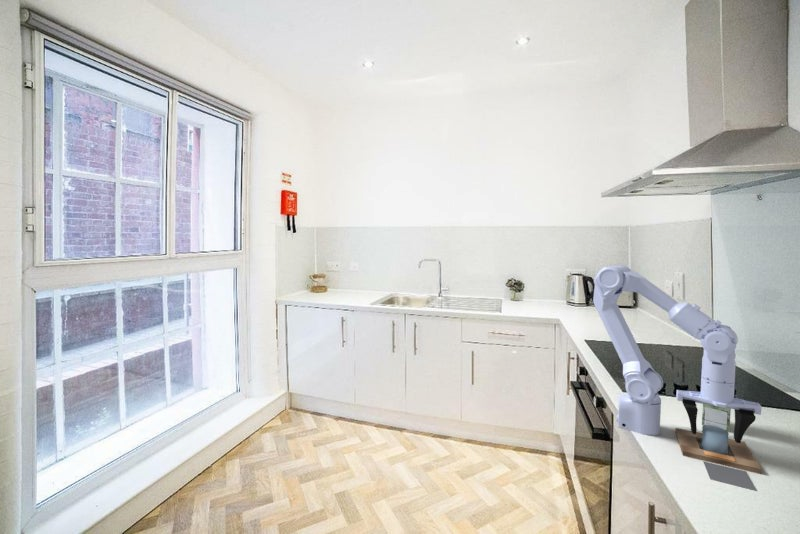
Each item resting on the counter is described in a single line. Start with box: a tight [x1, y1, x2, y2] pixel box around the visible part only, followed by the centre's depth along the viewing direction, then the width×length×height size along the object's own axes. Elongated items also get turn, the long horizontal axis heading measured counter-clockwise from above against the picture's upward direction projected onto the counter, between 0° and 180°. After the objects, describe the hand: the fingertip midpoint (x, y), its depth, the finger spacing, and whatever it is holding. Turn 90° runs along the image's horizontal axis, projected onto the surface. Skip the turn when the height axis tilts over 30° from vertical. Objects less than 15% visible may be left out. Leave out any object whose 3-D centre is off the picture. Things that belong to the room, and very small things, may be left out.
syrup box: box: [701, 404, 732, 433], centre depth 96 cm, size 6×6×14 cm
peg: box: [701, 425, 729, 455], centre depth 83 cm, size 4×4×6 cm
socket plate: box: [674, 427, 763, 475], centre depth 83 cm, size 13×12×2 cm
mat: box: [702, 460, 758, 492], centre depth 74 cm, size 7×7×1 cm
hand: (714, 436), depth 83 cm, fingers open, 7 cm apart
